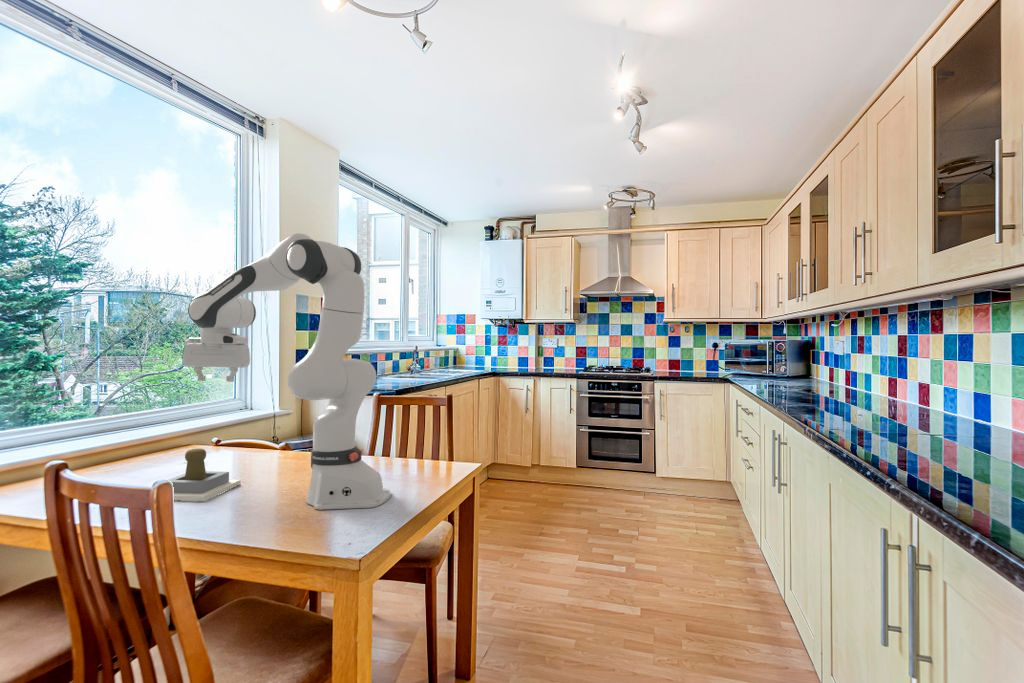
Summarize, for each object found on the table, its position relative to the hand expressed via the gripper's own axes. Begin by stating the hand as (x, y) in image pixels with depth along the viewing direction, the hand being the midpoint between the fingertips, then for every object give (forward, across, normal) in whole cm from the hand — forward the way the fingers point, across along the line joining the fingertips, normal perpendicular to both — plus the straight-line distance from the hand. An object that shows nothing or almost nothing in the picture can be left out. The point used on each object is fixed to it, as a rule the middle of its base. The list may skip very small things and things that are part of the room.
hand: (215, 381), depth 155 cm
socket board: (+31, +4, -14) cm, 34 cm away
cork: (+30, +4, -14) cm, 33 cm away
